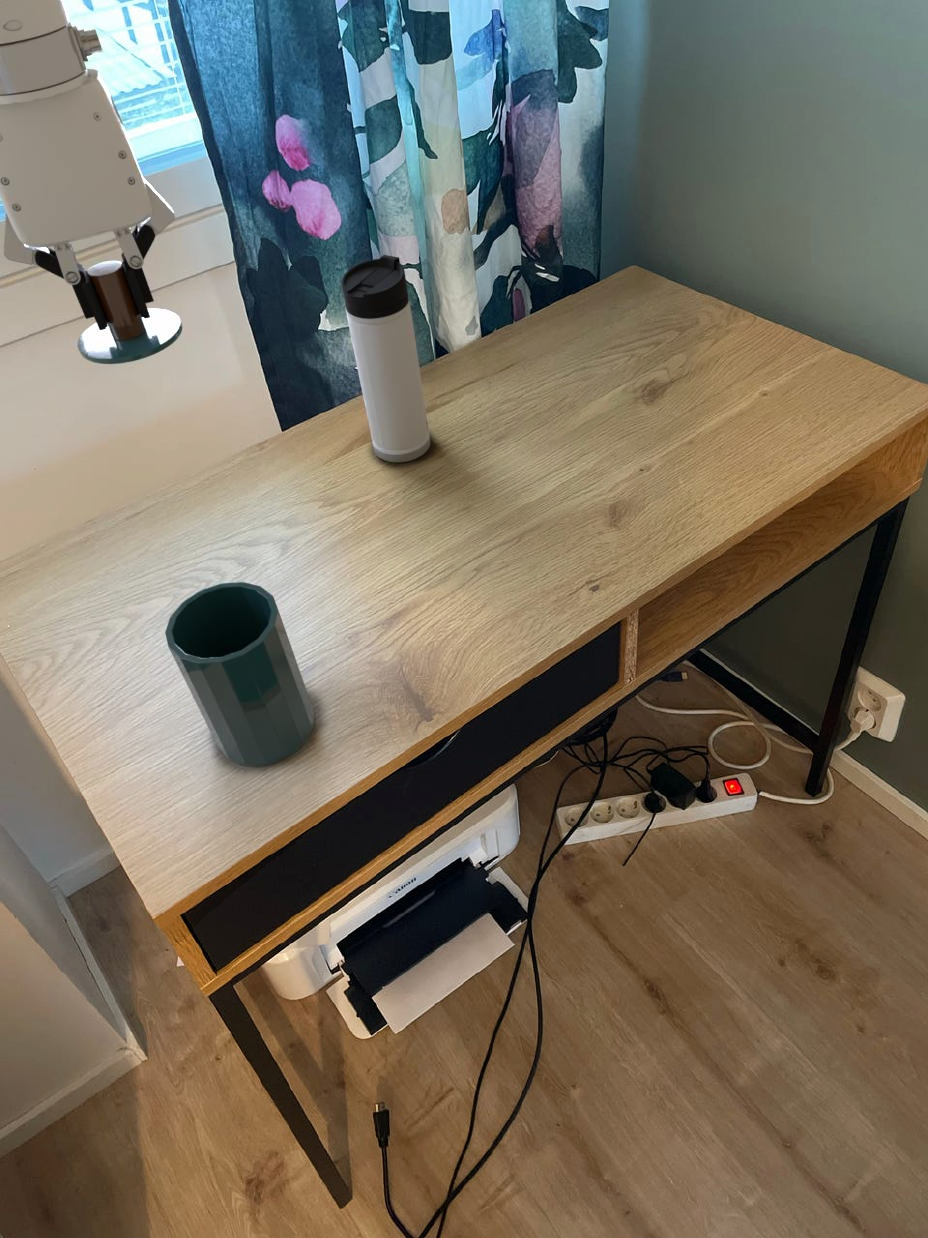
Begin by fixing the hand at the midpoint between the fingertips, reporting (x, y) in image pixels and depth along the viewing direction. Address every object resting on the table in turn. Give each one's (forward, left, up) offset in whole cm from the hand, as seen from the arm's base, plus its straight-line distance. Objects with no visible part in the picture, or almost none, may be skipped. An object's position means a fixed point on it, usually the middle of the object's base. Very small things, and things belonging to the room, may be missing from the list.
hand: (122, 315), depth 74 cm
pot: (0, -27, -24) cm, 36 cm away
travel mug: (+23, +5, -24) cm, 34 cm away
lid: (0, 0, -2) cm, 2 cm away
